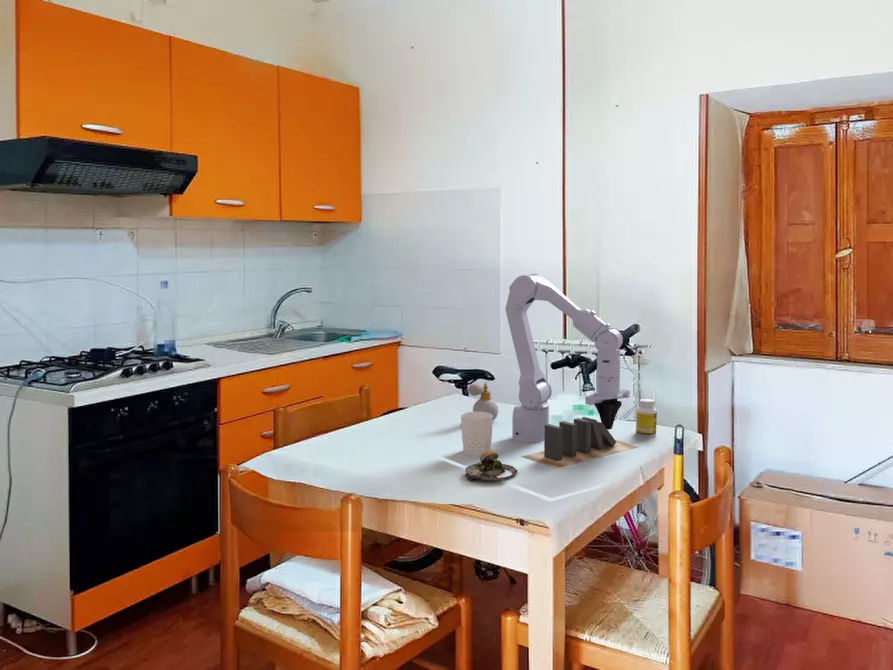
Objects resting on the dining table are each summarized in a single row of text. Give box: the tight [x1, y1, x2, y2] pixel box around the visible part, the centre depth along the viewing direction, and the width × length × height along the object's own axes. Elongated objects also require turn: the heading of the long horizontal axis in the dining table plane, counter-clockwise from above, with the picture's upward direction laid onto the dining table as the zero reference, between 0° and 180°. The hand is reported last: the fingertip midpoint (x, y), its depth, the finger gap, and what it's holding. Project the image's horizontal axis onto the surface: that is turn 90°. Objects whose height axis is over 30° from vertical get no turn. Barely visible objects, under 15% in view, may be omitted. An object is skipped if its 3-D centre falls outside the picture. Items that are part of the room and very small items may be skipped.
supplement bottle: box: [635, 398, 658, 438], centre depth 211 cm, size 5×5×10 cm
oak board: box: [520, 439, 641, 469], centre depth 194 cm, size 30×12×1 cm, turn 127°
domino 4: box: [580, 416, 604, 450], centre depth 196 cm, size 2×4×8 cm, turn 35°
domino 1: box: [543, 423, 562, 461], centre depth 188 cm, size 2×4×8 cm, turn 37°
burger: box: [465, 443, 518, 483], centre depth 176 cm, size 12×12×8 cm
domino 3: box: [573, 417, 591, 454], centre depth 194 cm, size 2×4×8 cm, turn 37°
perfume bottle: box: [467, 382, 499, 422], centre depth 226 cm, size 8×10×12 cm
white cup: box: [460, 411, 493, 457], centre depth 194 cm, size 8×8×10 cm
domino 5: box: [597, 421, 616, 447], centre depth 198 cm, size 2×4×8 cm
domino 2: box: [558, 420, 577, 457], centre depth 191 cm, size 2×4×8 cm, turn 36°
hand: (607, 428), depth 199 cm, fingers closed
